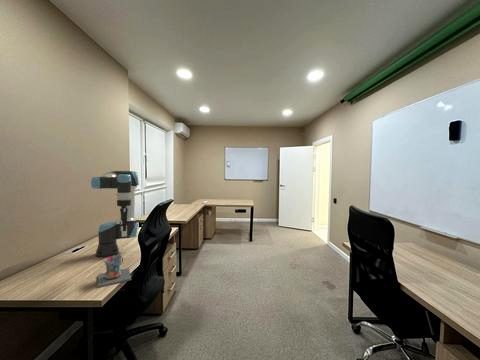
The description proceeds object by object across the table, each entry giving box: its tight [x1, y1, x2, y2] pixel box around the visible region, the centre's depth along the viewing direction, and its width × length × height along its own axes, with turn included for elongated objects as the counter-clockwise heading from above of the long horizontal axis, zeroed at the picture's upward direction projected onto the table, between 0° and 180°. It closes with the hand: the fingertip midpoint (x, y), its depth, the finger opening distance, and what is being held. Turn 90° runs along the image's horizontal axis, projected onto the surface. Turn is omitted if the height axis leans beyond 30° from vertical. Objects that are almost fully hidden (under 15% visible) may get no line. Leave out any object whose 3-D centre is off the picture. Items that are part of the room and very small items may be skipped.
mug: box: [103, 255, 124, 279], centre depth 124 cm, size 12×9×11 cm
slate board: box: [97, 267, 132, 288], centre depth 123 cm, size 16×16×1 cm
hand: (123, 233), depth 131 cm, fingers open, 13 cm apart
